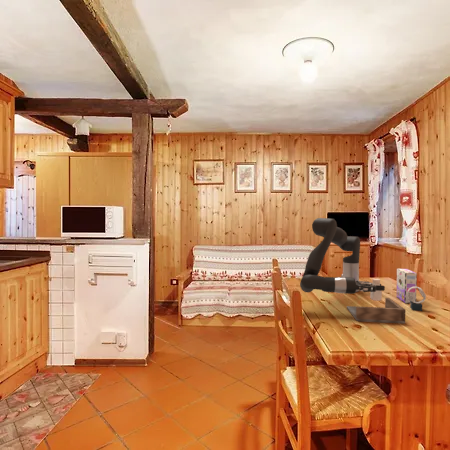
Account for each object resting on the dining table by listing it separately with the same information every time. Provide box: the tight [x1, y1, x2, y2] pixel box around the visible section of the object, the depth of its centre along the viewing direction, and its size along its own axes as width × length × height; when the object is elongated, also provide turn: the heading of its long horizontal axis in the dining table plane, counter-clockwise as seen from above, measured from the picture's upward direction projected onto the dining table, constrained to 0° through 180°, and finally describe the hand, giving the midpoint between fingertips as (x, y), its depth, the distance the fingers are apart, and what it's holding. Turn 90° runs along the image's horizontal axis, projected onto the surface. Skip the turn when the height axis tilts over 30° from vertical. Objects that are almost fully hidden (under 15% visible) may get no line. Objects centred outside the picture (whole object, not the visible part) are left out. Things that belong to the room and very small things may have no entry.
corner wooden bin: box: [346, 297, 406, 324], centre depth 147 cm, size 20×20×6 cm
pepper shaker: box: [369, 278, 383, 302], centre depth 147 cm, size 4×4×10 cm
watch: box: [407, 286, 427, 312], centre depth 157 cm, size 6×8×11 cm
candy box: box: [396, 268, 418, 304], centre depth 173 cm, size 14×6×16 cm, turn 168°
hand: (382, 287), depth 147 cm, fingers closed on pepper shaker, 4 cm apart
